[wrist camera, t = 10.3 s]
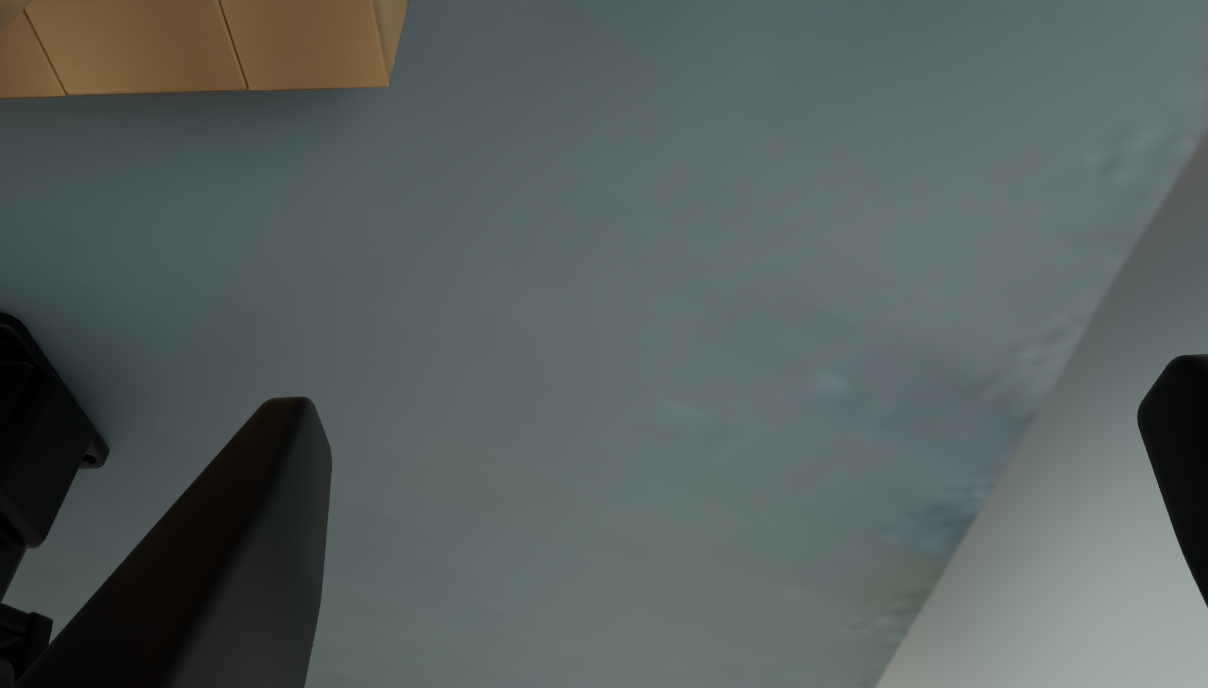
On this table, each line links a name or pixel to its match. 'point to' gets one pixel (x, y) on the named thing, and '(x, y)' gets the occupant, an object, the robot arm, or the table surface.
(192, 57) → the rack
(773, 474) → the table surface
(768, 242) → the table surface
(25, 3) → the beech dowel
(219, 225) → the table surface
